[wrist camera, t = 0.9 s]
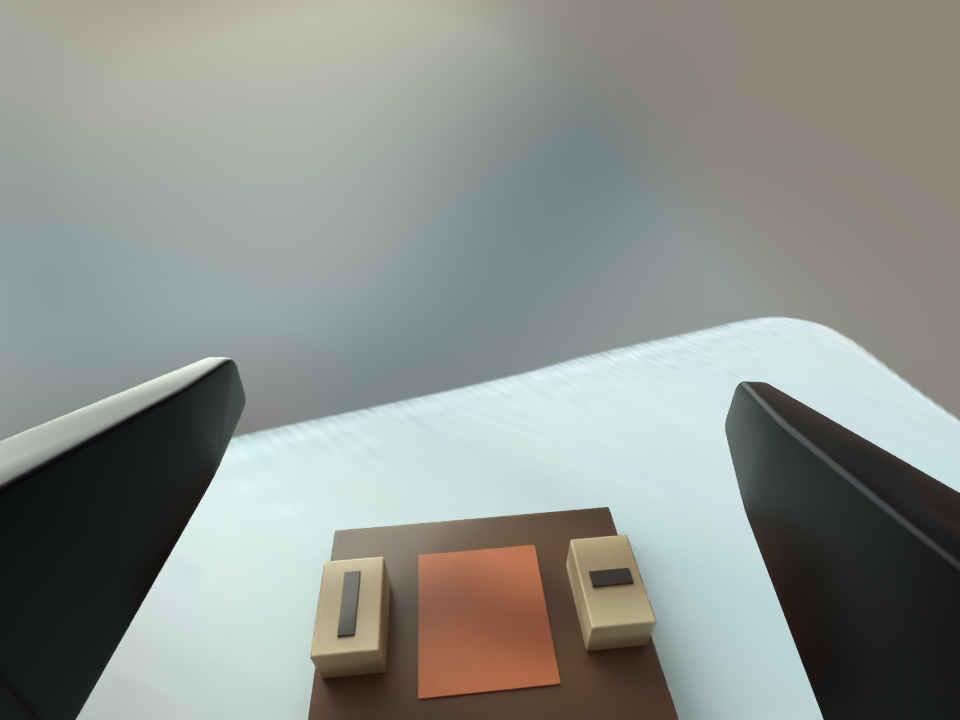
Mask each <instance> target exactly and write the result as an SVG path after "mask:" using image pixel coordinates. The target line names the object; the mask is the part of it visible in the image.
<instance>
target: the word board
mask: <svg viewBox="0 0 960 720" xmlns="http://www.w3.org/2000/svg"><path fill="white" fill-rule="evenodd" d="M655 624H656V619H655V616H654V613H653V610H652V607H651V604H650V601H649V599H648V596H647V593H646V590H645V587H644V584H643V581H642V578H641V575H640V572H639V570H638V567H637V564H636V561H635V558H634V555H633V552H632V549H631V546H630V543H629V541H628V538H627V536H626V535H618V534H617V531H616V528H615V525H614V522H613V519H612V516H611V513H610V510H609V508H608V507H603V508H592V509H580V510H569V511H557V512H546V513H534V514H523V515H511V516H500V517H488V518H477V519H465V520H454V521H442V522H431V523H419V524H408V525H396V526H385V527H373V528H362V529H350V530H339V531H335V534H334V541H333V548H332V555H331V561H330V562H325V563H324V568H323V575H322V581H321V588H320V594H319V601H318V607H317V614H316V621H315V627H314V634H313V640H312V647H311V653H310V658H311V660H312V661H313V663H314V665H315V674H314V681H313V688H312V695H311V702H310V709H309V716H308V720H679V719H678V716H677V713H676V710H675V707H674V704H673V701H672V698H671V695H670V692H669V689H668V686H667V683H666V680H665V677H664V674H663V671H662V668H661V665H660V662H659V659H658V656H657V653H656V650H655V646H654V643H653V640H652V637H651V633H652V631H653V629H654V627H655Z"/></svg>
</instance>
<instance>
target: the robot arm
mask: <svg viewBox="0 0 960 720" xmlns="http://www.w3.org/2000/svg"><path fill="white" fill-rule="evenodd" d="M245 400H246V399H245V393H244V389H243V386H242V382H241V379H240V375H239V372H238V369H237V366H236V364H235V362H234V361H233V360H232V359H230V358H216V357H210V358H206V359H204V360H201V361H199V362H196V363H194V364H191V365H189V366H186V367H184V368H181V369H179V370H176V371H174V372H171V373H169V374H166V375H164V376H161V377H159V378H156V379H154V380H151V381H149V382H147V383H144V384H141V385H139V386H137V387H134V388H132V389H129V390H127V391H124V392H122V393H119V394H117V395H114V396H112V397H109V398H107V399H104V400H102V401H99V402H97V403H95V404H92V405H89V406H87V407H84V408H82V409H79V410H77V411H74V412H72V413H69V414H67V415H65V416H62V417H59V418H57V419H55V420H52V421H50V422H47V423H45V424H42V425H40V426H37V427H35V428H32V429H30V430H27V431H25V432H22V433H20V434H17V435H15V436H12V437H10V438H7V439H5V440H2V441H0V720H76V718H77V716H78V715H79V713H80V711H81V709H82V708H83V706H84V704H85V702H86V701H87V699H88V697H89V695H90V694H91V692H92V690H93V688H94V687H95V685H96V683H97V681H98V680H99V678H100V676H101V674H102V673H103V671H104V669H105V667H106V666H107V664H108V662H109V660H110V659H111V657H112V655H113V653H114V652H115V650H116V648H117V646H118V645H119V643H120V641H121V639H122V637H123V636H124V634H125V632H126V630H127V629H128V627H129V625H130V623H131V622H132V620H133V618H134V616H135V615H136V613H137V611H138V609H139V608H140V606H141V604H142V602H143V601H144V599H145V597H146V595H147V594H148V592H149V590H150V588H151V587H152V585H153V583H154V581H155V580H156V578H157V576H158V574H159V573H160V571H161V569H162V567H163V566H164V564H165V562H166V560H167V559H168V557H169V555H170V553H171V552H172V550H173V548H174V546H175V545H176V543H177V541H178V539H179V538H180V536H181V534H182V532H183V531H184V529H185V527H186V525H187V524H188V522H189V520H190V518H191V517H192V515H193V513H194V511H195V510H196V508H197V506H198V504H199V503H200V501H201V499H202V497H203V496H204V494H205V492H206V490H207V489H208V487H209V485H210V483H211V481H212V479H213V477H214V476H215V473H216V471H217V469H218V467H219V465H220V463H221V460H222V458H223V456H224V454H225V451H226V449H227V447H228V444H229V442H230V440H231V437H232V435H233V433H234V430H235V428H236V425H237V423H238V421H239V419H240V416H241V414H242V412H243V409H244V406H245ZM725 430H726V436H727V440H728V444H729V448H730V452H731V457H732V461H733V465H734V469H735V473H736V477H737V481H738V485H739V489H740V494H741V498H742V501H743V505H744V508H745V511H746V514H747V517H748V520H749V523H750V525H751V528H752V531H753V533H754V536H755V539H756V541H757V544H758V547H759V549H760V552H761V555H762V557H763V560H764V563H765V565H766V568H767V570H768V573H769V576H770V578H771V581H772V584H773V586H774V589H775V592H776V594H777V597H778V600H779V602H780V605H781V608H782V610H783V613H784V616H785V618H786V621H787V623H788V626H789V629H790V631H791V634H792V637H793V639H794V642H795V645H796V647H797V650H798V653H799V655H800V658H801V661H802V663H803V666H804V668H805V671H806V674H807V676H808V679H809V682H810V684H811V687H812V690H813V692H814V695H815V698H816V700H817V703H818V706H819V708H820V711H821V713H822V716H823V719H824V720H960V493H959V492H957V491H955V490H954V489H952V488H950V487H948V486H947V485H945V484H943V483H941V482H940V481H938V480H936V479H934V478H932V477H931V476H929V475H927V474H925V473H924V472H922V471H920V470H918V469H917V468H915V467H913V466H911V465H910V464H908V463H906V462H904V461H903V460H901V459H899V458H897V457H896V456H894V455H892V454H890V453H889V452H887V451H885V450H883V449H882V448H880V447H878V446H876V445H875V444H873V443H871V442H869V441H868V440H866V439H864V438H862V437H861V436H859V435H857V434H855V433H853V432H852V431H850V430H848V429H846V428H845V427H843V426H841V425H839V424H838V423H836V422H834V421H832V420H831V419H829V418H827V417H825V416H824V415H822V414H820V413H818V412H817V411H815V410H813V409H811V408H810V407H808V406H806V405H804V404H803V403H801V402H799V401H797V400H796V399H794V398H792V397H790V396H789V395H787V394H785V393H783V392H782V391H780V390H778V389H776V388H775V387H773V386H771V385H769V384H767V383H764V382H741V383H740V384H738V386H737V388H736V390H735V393H734V396H733V399H732V402H731V406H730V409H729V412H728V415H727V418H726V424H725Z"/></svg>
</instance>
